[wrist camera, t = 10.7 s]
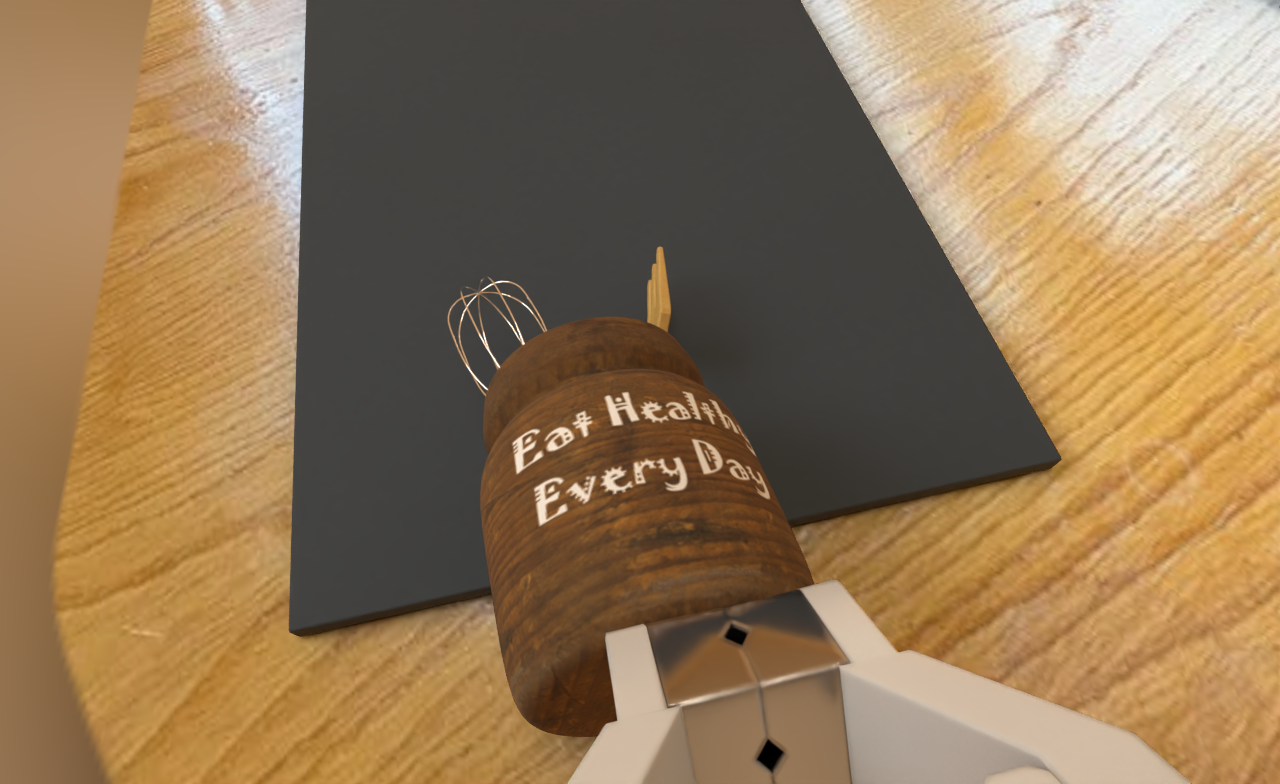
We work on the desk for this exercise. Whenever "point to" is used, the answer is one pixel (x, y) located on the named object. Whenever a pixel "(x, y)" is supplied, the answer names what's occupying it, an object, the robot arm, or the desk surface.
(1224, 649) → the desk surface
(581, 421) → the utensil holder
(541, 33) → the desk mat
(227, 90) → the desk surface
